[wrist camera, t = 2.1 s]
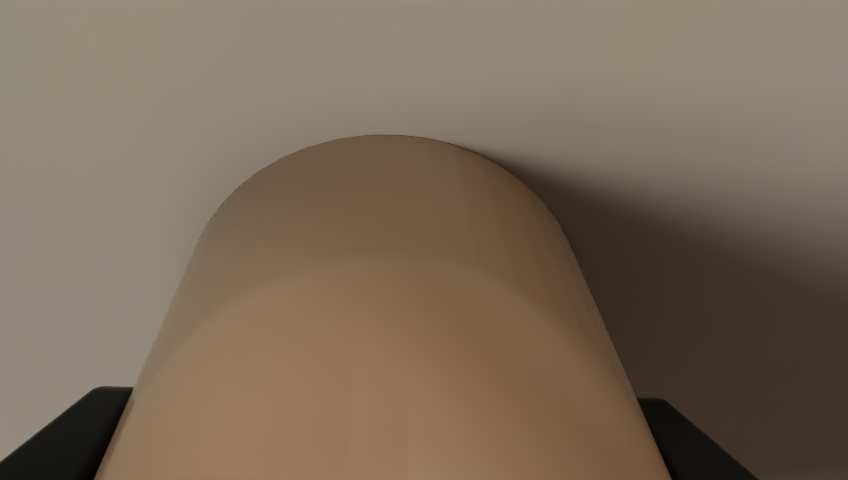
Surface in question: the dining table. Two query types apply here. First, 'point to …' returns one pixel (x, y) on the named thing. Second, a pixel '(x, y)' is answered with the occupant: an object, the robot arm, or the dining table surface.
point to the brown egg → (383, 334)
